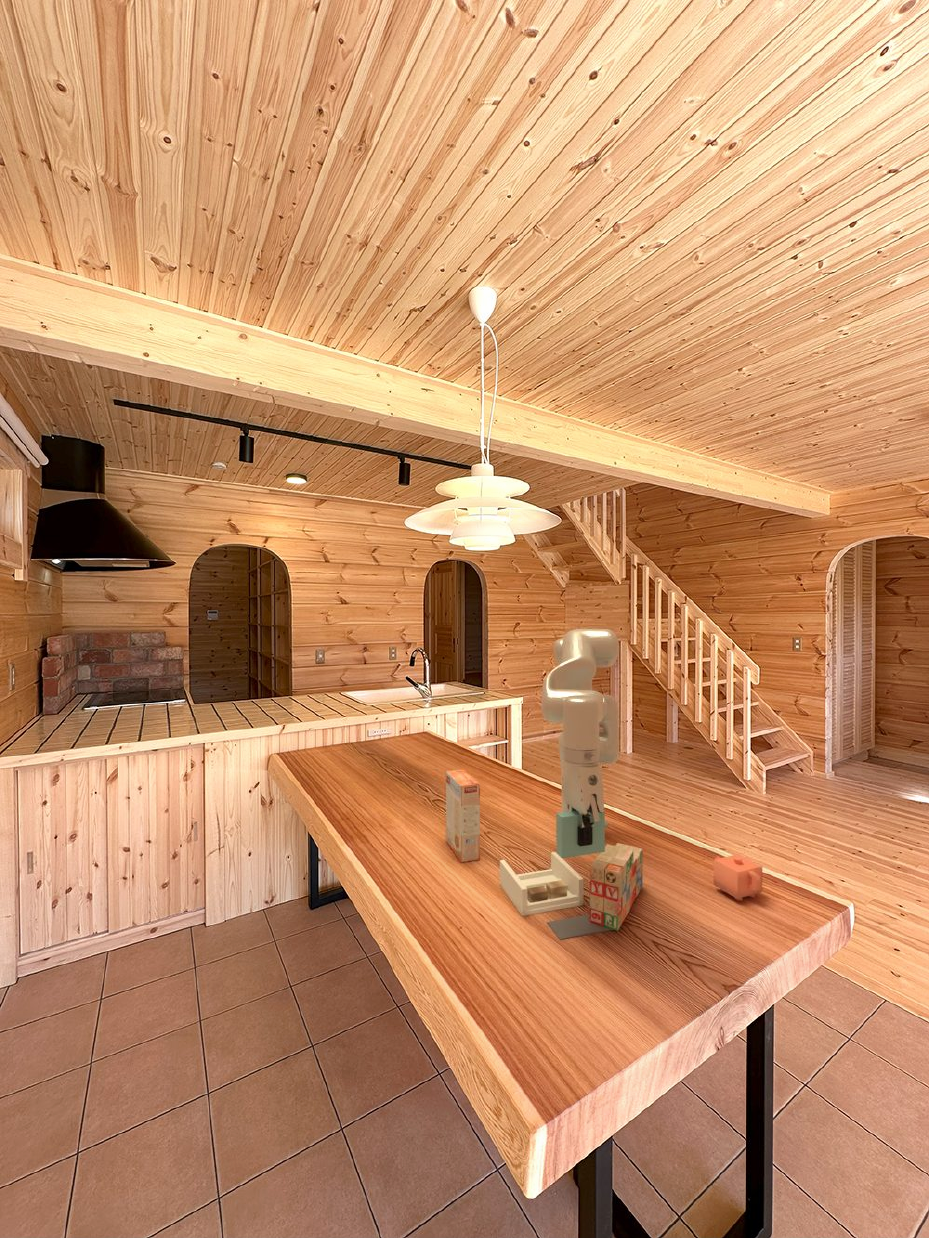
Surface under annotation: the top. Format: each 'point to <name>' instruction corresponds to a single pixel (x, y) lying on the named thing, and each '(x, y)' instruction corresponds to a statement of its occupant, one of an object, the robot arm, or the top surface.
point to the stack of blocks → (614, 884)
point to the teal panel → (569, 835)
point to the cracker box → (463, 815)
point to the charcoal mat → (575, 927)
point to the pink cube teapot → (737, 876)
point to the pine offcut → (556, 889)
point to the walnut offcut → (537, 894)
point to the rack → (559, 871)
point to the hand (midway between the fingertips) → (581, 840)
